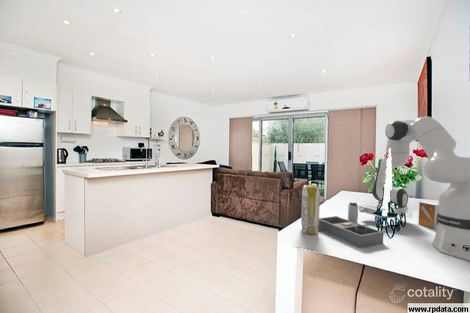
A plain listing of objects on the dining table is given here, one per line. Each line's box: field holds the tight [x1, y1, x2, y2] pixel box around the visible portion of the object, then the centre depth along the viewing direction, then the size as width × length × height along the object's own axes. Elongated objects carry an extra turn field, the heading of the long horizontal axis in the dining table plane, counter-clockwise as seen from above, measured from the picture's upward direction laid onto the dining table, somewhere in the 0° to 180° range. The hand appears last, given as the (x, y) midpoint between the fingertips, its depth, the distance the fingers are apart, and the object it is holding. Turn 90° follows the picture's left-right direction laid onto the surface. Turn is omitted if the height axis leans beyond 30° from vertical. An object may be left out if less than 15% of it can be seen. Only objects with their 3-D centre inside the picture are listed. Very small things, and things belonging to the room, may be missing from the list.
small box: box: [418, 200, 439, 230], centre depth 126 cm, size 8×6×13 cm
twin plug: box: [355, 224, 367, 235], centre depth 102 cm, size 5×5×5 cm
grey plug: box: [347, 201, 359, 224], centre depth 121 cm, size 5×5×13 cm
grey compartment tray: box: [318, 215, 384, 249], centre depth 109 cm, size 26×14×6 cm, turn 23°
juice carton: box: [300, 183, 321, 235], centre depth 112 cm, size 9×8×24 cm
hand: (368, 212), depth 126 cm, fingers open, 8 cm apart
